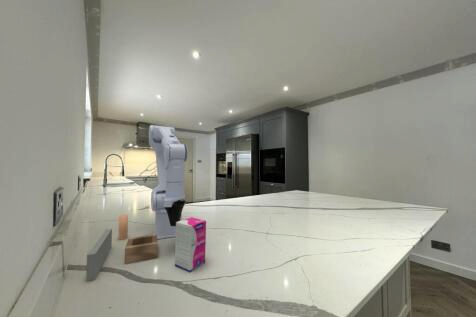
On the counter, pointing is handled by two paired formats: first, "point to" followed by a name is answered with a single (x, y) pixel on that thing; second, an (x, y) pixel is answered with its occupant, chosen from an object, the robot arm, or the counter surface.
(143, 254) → the socket block
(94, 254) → the wall
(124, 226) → the dowel
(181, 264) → the supplement box
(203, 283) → the counter surface
